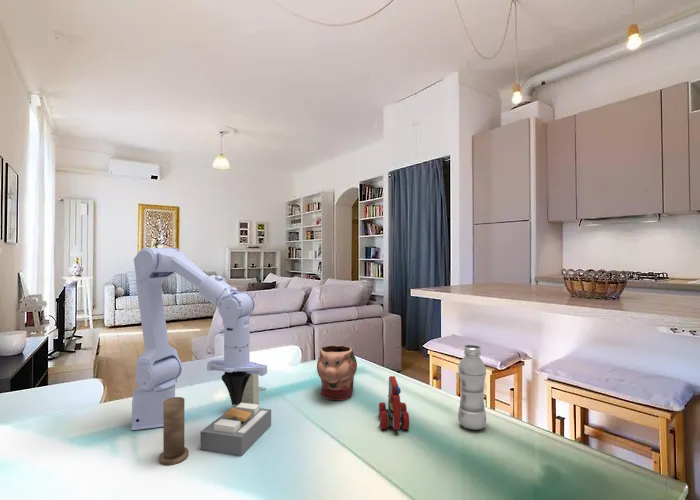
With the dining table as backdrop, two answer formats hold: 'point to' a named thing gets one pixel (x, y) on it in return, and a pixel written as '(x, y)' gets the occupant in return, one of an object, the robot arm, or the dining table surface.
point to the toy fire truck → (393, 408)
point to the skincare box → (251, 391)
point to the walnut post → (173, 432)
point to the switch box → (236, 431)
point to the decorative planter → (336, 371)
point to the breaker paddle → (238, 415)
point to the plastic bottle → (472, 389)
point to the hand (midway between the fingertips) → (236, 403)
